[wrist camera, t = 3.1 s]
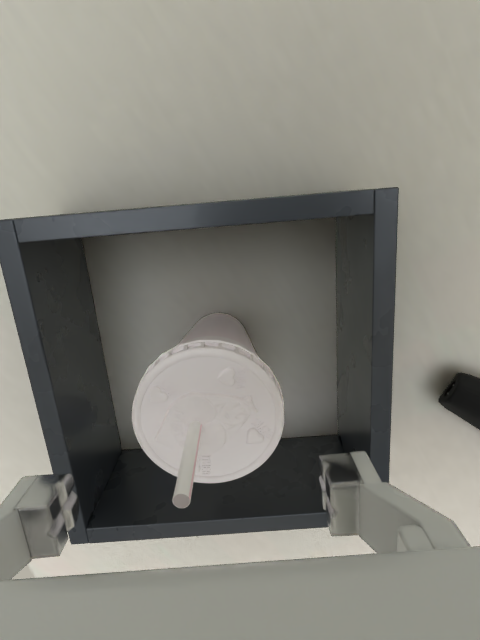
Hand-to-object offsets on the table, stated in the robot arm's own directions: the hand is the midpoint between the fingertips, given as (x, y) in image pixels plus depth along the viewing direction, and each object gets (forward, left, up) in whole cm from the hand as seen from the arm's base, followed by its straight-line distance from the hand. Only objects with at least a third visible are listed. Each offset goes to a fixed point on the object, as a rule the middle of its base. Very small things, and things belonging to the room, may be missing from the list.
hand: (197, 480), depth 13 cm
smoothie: (0, 0, -13) cm, 13 cm away
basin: (0, 0, -13) cm, 13 cm away
